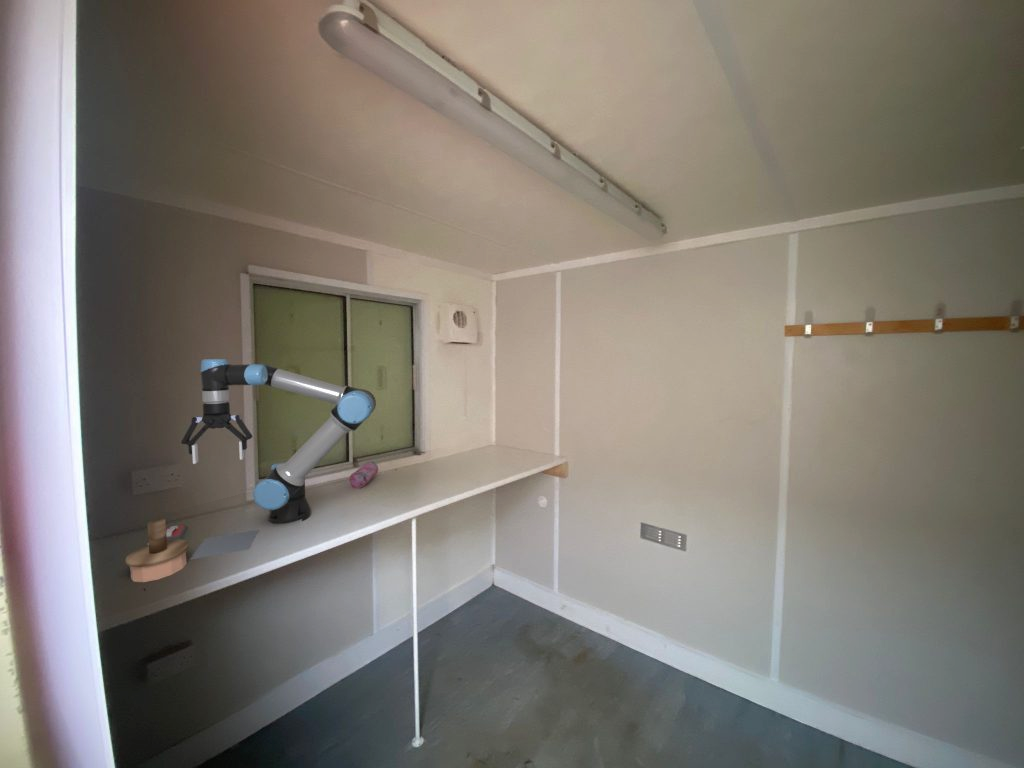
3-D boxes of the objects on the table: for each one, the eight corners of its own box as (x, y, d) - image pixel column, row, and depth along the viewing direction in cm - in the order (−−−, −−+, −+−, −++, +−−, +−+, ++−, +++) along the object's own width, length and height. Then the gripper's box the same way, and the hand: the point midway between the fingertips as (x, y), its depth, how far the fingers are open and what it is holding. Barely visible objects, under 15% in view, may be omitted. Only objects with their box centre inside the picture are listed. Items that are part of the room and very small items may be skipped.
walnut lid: (195, 539, 124) (194, 509, 123) (178, 560, 111) (176, 526, 110) (140, 548, 118) (137, 516, 117) (114, 571, 105) (112, 535, 104)
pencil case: (365, 489, 189) (365, 471, 188) (347, 489, 189) (347, 471, 188) (379, 476, 210) (379, 460, 210) (363, 476, 210) (362, 460, 210)
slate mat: (259, 532, 142) (258, 529, 142) (249, 552, 127) (248, 549, 127) (206, 540, 135) (206, 537, 135) (189, 562, 121) (189, 559, 121)
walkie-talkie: (158, 535, 140) (139, 560, 123) (157, 524, 140) (139, 547, 122) (189, 530, 144) (175, 553, 127) (188, 519, 144) (174, 540, 127)
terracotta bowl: (191, 559, 123) (190, 541, 122) (176, 579, 112) (175, 559, 111) (143, 567, 118) (142, 549, 117) (123, 589, 107) (121, 568, 106)
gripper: (259, 399, 143) (262, 454, 144) (176, 402, 132) (179, 461, 134) (255, 401, 136) (258, 459, 137) (166, 405, 126) (170, 467, 127)
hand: (219, 460), depth 135 cm, fingers open, 13 cm apart
